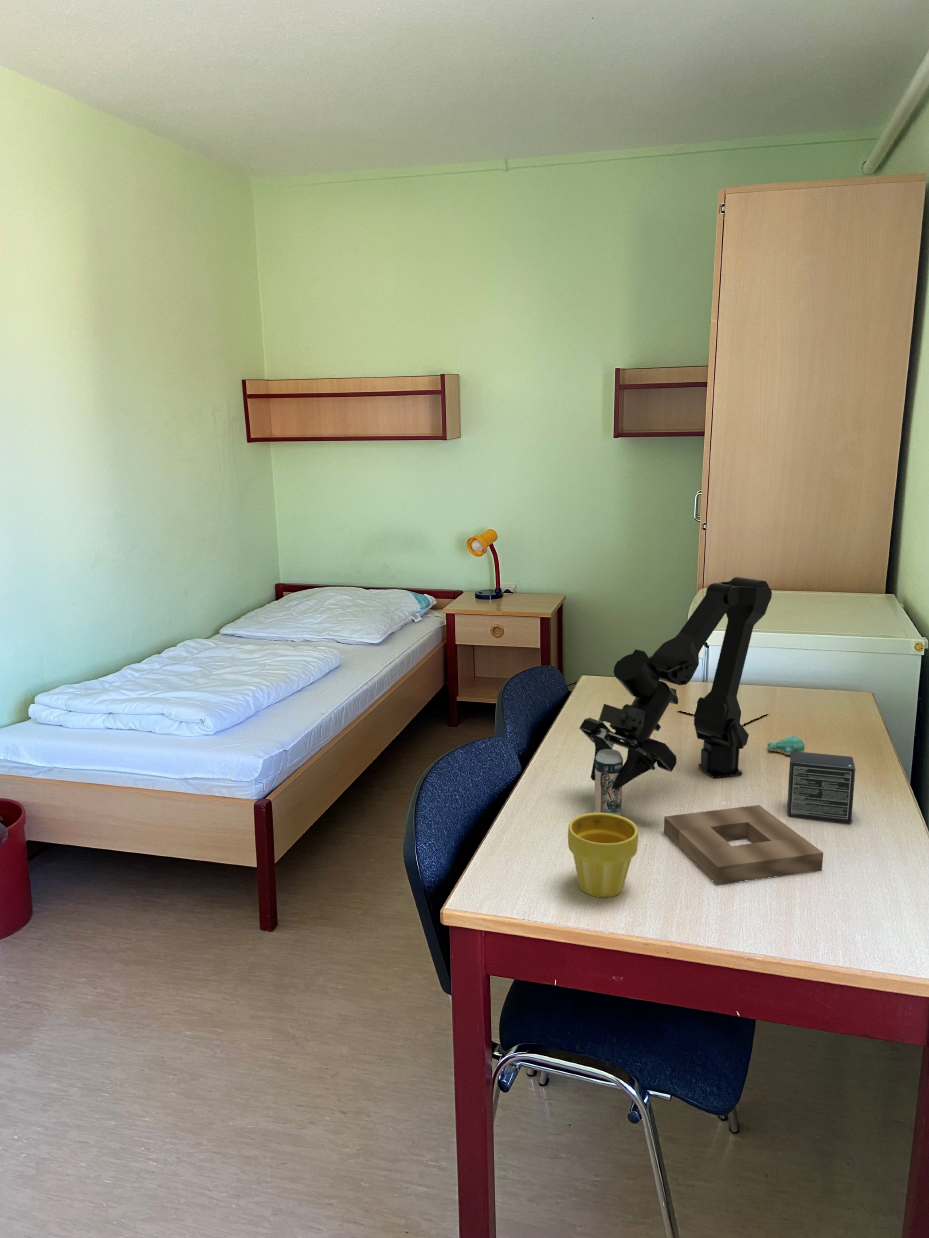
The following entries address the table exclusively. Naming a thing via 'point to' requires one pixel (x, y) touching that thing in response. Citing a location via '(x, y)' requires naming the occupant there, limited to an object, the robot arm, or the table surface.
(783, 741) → the whale figurine
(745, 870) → the holder block
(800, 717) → the table surface
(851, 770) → the small box
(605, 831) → the plant pot
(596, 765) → the beer can
